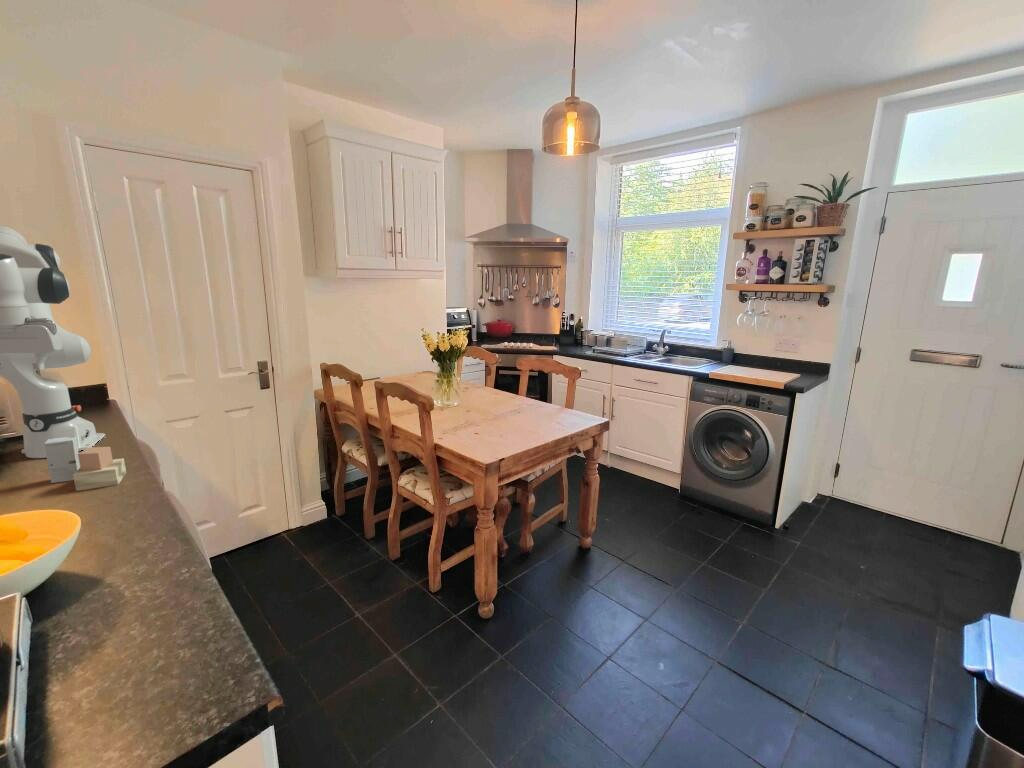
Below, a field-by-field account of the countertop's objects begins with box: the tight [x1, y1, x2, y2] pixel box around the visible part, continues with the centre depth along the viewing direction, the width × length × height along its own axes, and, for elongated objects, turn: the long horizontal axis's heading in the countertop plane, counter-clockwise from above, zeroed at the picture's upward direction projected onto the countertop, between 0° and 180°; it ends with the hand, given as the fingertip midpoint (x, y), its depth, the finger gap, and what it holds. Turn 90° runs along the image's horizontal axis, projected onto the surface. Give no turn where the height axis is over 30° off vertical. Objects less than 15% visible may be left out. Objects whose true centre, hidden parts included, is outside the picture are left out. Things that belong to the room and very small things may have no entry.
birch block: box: [73, 457, 127, 492], centre depth 130 cm, size 9×9×5 cm
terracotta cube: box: [78, 446, 114, 471], centre depth 129 cm, size 5×5×5 cm
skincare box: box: [44, 436, 80, 484], centre depth 130 cm, size 6×4×12 cm
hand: (18, 369), depth 120 cm, fingers open, 8 cm apart
